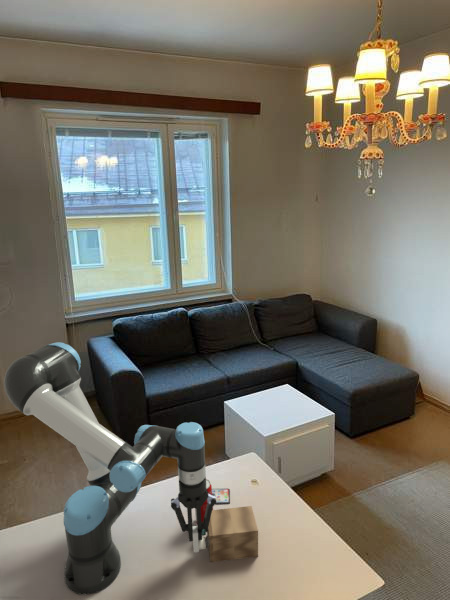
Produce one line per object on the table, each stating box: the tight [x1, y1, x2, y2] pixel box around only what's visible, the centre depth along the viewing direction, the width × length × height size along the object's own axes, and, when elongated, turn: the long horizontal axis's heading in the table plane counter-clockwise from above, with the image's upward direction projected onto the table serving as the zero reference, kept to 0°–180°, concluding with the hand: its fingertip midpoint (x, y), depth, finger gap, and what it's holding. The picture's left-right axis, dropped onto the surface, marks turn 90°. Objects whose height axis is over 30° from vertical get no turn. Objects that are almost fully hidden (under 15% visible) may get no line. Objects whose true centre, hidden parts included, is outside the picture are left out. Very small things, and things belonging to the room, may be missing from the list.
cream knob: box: [198, 536, 209, 551], centre depth 123 cm, size 8×3×3 cm, turn 97°
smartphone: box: [212, 488, 231, 505], centre depth 148 cm, size 8×1×15 cm
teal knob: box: [202, 529, 208, 537], centre depth 128 cm, size 8×3×3 cm, turn 97°
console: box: [206, 505, 259, 563], centre depth 126 cm, size 14×10×9 cm
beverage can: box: [194, 478, 214, 524], centre depth 135 cm, size 6×6×15 cm
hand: (196, 548), depth 123 cm, fingers closed
